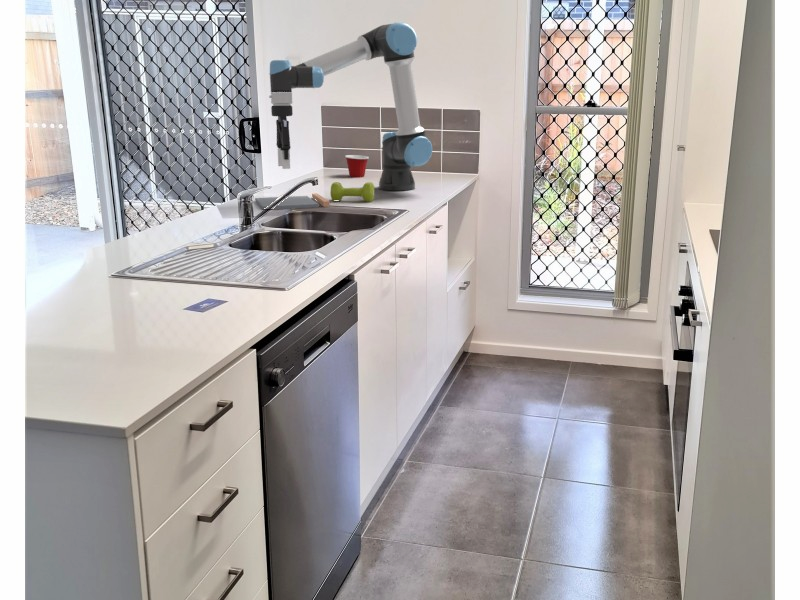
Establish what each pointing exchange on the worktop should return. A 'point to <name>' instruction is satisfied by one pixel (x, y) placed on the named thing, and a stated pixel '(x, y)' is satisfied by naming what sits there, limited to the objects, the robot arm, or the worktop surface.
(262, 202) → the board
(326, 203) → the strip
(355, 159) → the plastic cup
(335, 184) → the dumbbell
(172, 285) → the worktop surface
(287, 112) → the robot arm
